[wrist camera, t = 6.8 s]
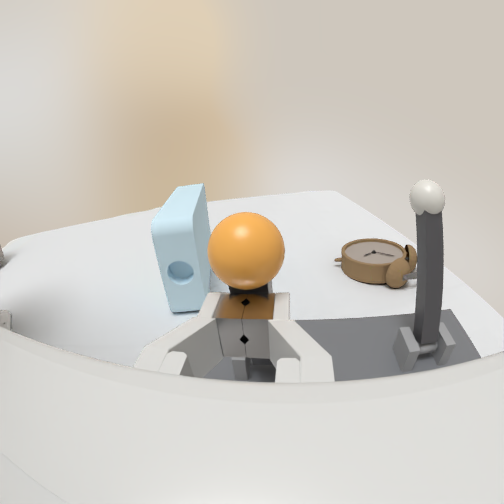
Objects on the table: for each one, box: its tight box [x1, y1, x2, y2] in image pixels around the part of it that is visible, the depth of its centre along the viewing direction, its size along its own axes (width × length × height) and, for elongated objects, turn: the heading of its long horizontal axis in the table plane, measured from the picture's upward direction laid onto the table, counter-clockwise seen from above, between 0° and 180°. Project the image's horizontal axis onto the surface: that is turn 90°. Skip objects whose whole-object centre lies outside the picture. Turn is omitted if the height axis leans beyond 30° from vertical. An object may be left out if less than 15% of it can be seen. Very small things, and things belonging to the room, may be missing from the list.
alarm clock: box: [335, 239, 417, 288], centre depth 41 cm, size 11×5×15 cm
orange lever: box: [207, 212, 285, 365], centre depth 13 cm, size 3×3×12 cm
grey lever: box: [410, 179, 445, 355], centre depth 15 cm, size 3×3×12 cm
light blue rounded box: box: [151, 184, 211, 312], centre depth 43 cm, size 23×6×13 cm, turn 6°
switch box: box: [203, 309, 481, 382], centre depth 18 cm, size 10×22×10 cm, turn 84°
